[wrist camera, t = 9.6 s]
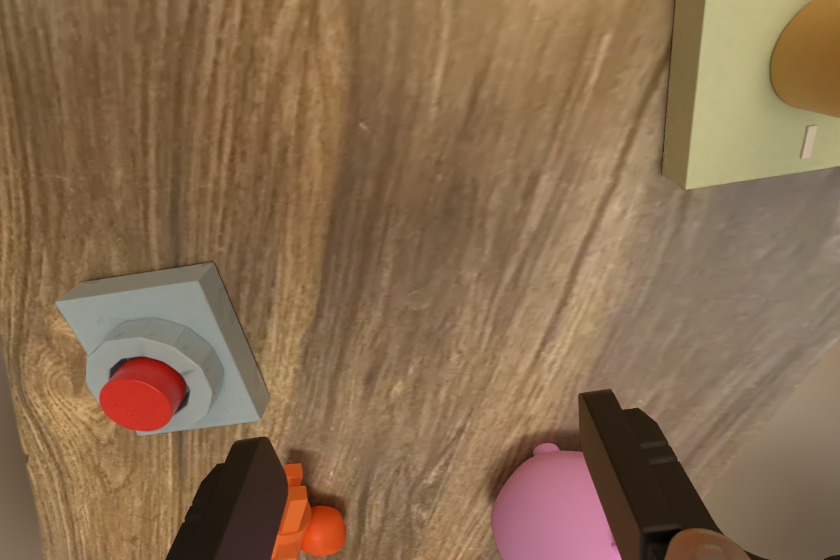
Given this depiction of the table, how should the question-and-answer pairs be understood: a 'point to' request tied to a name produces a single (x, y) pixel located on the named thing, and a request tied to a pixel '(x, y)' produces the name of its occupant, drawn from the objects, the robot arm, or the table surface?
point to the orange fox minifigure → (306, 523)
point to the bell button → (143, 394)
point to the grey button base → (171, 340)
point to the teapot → (552, 511)
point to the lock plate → (736, 98)
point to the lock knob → (810, 59)
